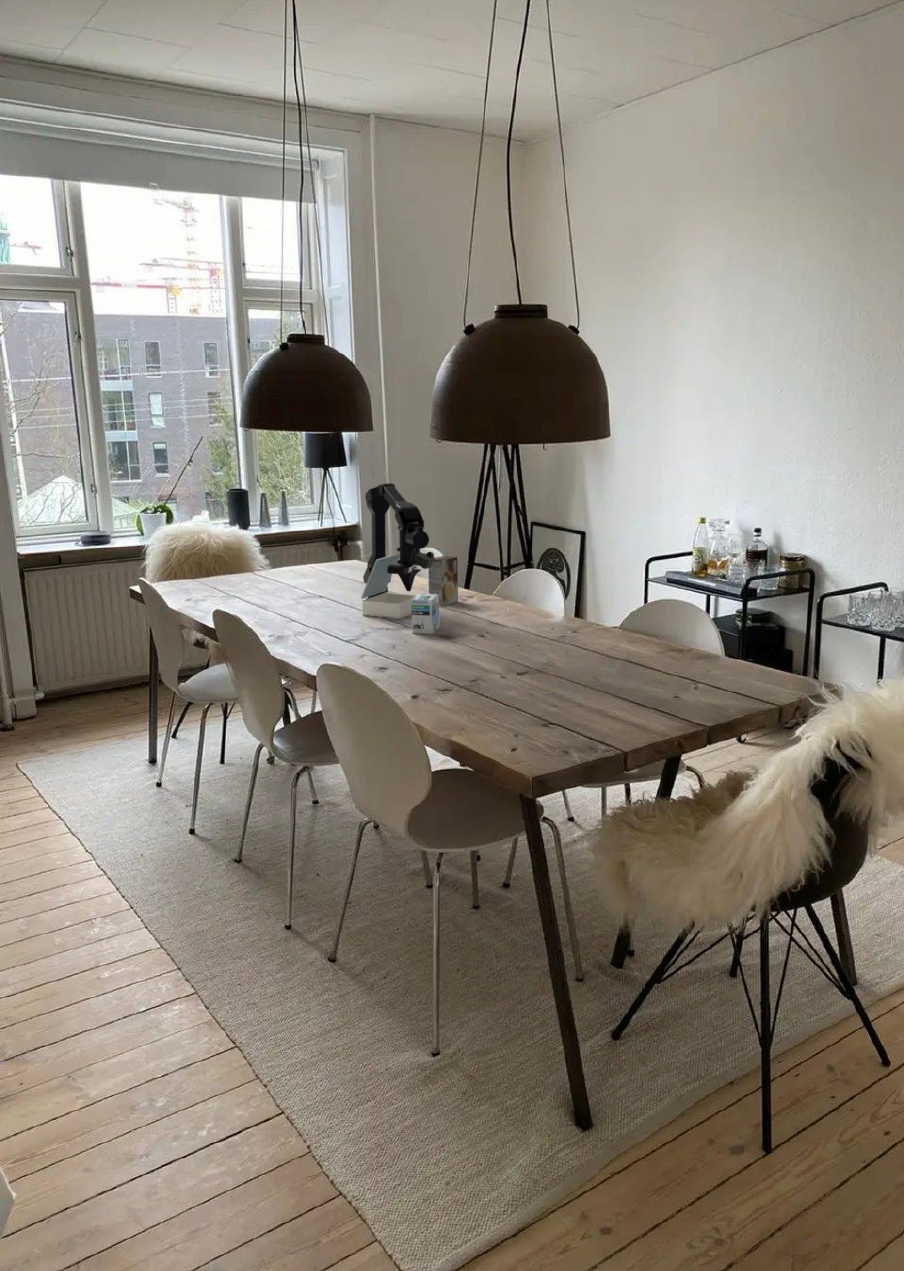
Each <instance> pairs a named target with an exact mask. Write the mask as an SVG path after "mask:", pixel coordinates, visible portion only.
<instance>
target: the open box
mask: <svg viewBox="0 0 904 1271" xmlns="http://www.w3.org/2000/svg"><path fill="white" fill-rule="evenodd" d="M417 595H418V594H410V593H409V594H408V593H400V592H399V593H397V592H389V591H388V592H386V593H383V594H380V595H377V596H375V597H372V598H369V599H366V598H365V599H362V601H361V602H362V616H363V615H369V616H368V617H372V616H378V617H377V618H382V617H386V618H385V619H392V618H395V619H394V620H401V619H403V617H404V618H407V617H408V615H409V616H412V602H411V600H412V599H413V598H414V597H415V596H417Z"/></svg>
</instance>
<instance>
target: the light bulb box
mask: <svg viewBox="0 0 904 1271" xmlns="http://www.w3.org/2000/svg"><path fill="white" fill-rule="evenodd" d="M416 595H417V596H415V597H414V598H413V599H412V600H411V602H412V614H411V633H412V634H423V635H433V634H434V633H436V631H437V630H438V629H439V628H440V605H439V594H429V593H425V592H424V593H422V592H421V593H420V592H418V594H416Z"/></svg>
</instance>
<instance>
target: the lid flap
mask: <svg viewBox="0 0 904 1271" xmlns="http://www.w3.org/2000/svg"><path fill="white" fill-rule="evenodd" d="M399 559H400V552H399V553H398V552H397V553H395V554H391V555H388V556H386V557H384V558H380V559H377V560H376V561H375V564H374V566H373V569H372V571H371V574H370V576H369V579H368V581H367V584H366V583H365V587H364V589H363V592H362V595H361V597H360V598H361V599H362V600H364V599H366V598H368V597H369V596H372V595H375V594H378V593H381V592H384V591H385V590H386V588H387V587H389V586H388V585H389V581H390V582H391V580H390V578H391V579H392V575H393V574H389V573H387V567H388V566H389V565H391V564H394V563H397V560H399ZM397 564H398V563H397Z"/></svg>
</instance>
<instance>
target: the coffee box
mask: <svg viewBox="0 0 904 1271" xmlns="http://www.w3.org/2000/svg"><path fill="white" fill-rule="evenodd" d="M434 560H435V562H433V563H432V565H431V568H427V569H428V575H427V576H428V594H439V606H442V607H443V606H447V605H450V604H453V603H457V602H458V601H459V587H458V586H459V583H458V582H459V580H458V574H459V573H458V556H450V555H440V556H436V557H435V556H434Z"/></svg>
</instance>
